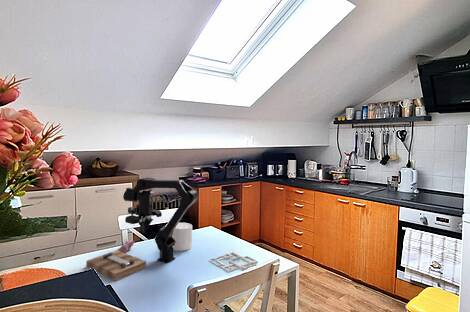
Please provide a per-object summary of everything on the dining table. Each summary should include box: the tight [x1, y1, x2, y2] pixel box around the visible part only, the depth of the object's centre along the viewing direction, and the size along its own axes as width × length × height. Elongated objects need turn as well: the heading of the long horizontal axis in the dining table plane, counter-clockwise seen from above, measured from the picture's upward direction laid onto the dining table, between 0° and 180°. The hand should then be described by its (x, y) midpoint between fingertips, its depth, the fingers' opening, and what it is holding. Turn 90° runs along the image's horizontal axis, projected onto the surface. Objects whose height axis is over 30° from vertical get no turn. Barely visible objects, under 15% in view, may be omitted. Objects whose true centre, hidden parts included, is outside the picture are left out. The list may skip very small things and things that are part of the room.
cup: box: [172, 222, 193, 252], centre depth 167 cm, size 12×12×12 cm
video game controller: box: [117, 239, 135, 254], centre depth 158 cm, size 10×5×7 cm, turn 169°
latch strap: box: [107, 255, 131, 266], centre depth 138 cm, size 14×3×1 cm, turn 57°
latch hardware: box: [102, 251, 134, 268], centre depth 139 cm, size 16×6×2 cm, turn 57°
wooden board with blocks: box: [85, 249, 147, 282], centre depth 139 cm, size 22×16×3 cm
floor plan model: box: [208, 251, 259, 273], centre depth 151 cm, size 19×25×2 cm
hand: (144, 233), depth 152 cm, fingers closed
